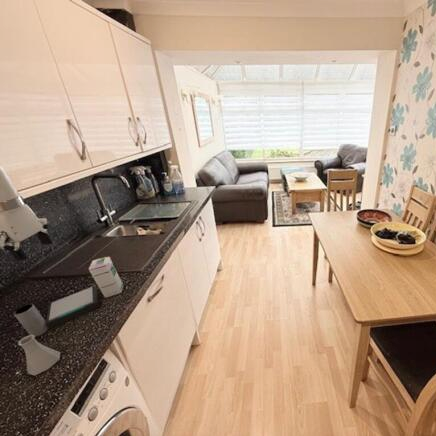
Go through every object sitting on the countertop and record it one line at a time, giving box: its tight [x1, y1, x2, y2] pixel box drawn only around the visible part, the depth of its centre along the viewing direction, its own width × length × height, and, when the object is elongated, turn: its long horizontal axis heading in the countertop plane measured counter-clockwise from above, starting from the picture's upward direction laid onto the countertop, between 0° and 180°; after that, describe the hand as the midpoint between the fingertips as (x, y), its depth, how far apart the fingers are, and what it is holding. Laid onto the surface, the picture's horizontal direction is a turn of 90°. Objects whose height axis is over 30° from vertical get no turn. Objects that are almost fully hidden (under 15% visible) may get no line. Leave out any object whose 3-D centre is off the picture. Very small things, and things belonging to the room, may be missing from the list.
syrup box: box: [88, 255, 124, 299], centre depth 92 cm, size 6×6×14 cm
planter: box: [12, 303, 50, 338], centre depth 77 cm, size 4×4×10 cm
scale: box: [45, 285, 100, 330], centre depth 88 cm, size 14×12×3 cm
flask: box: [17, 334, 61, 376], centre depth 67 cm, size 7×7×10 cm
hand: (35, 251), depth 81 cm, fingers open, 9 cm apart
